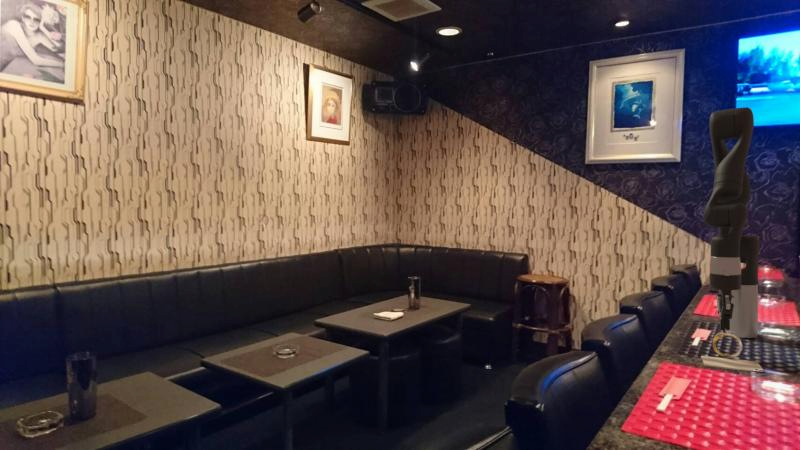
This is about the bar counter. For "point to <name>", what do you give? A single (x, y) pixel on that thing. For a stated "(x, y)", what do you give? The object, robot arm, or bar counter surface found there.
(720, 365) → the birch board
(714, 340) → the ring
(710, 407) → the bar counter surface
